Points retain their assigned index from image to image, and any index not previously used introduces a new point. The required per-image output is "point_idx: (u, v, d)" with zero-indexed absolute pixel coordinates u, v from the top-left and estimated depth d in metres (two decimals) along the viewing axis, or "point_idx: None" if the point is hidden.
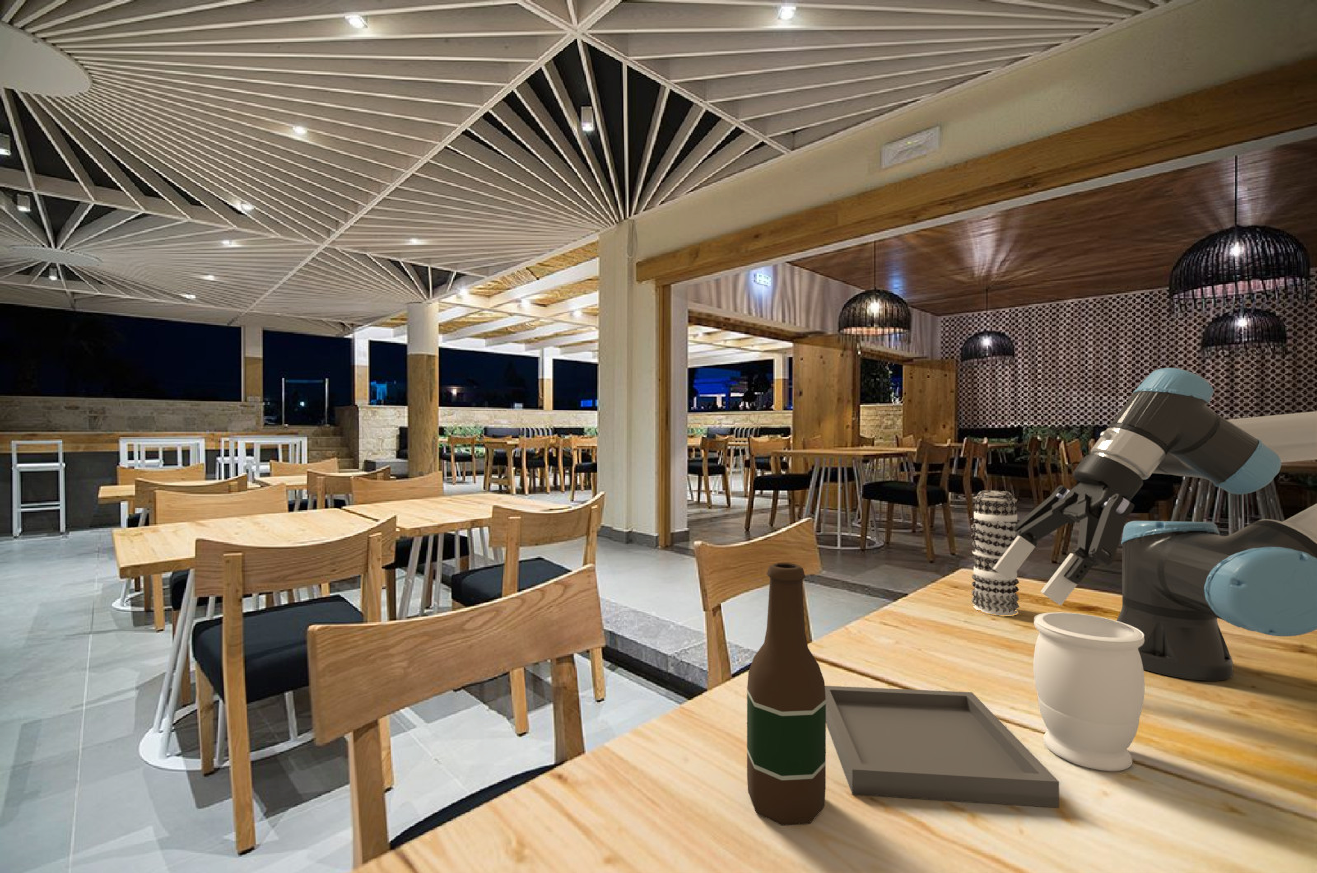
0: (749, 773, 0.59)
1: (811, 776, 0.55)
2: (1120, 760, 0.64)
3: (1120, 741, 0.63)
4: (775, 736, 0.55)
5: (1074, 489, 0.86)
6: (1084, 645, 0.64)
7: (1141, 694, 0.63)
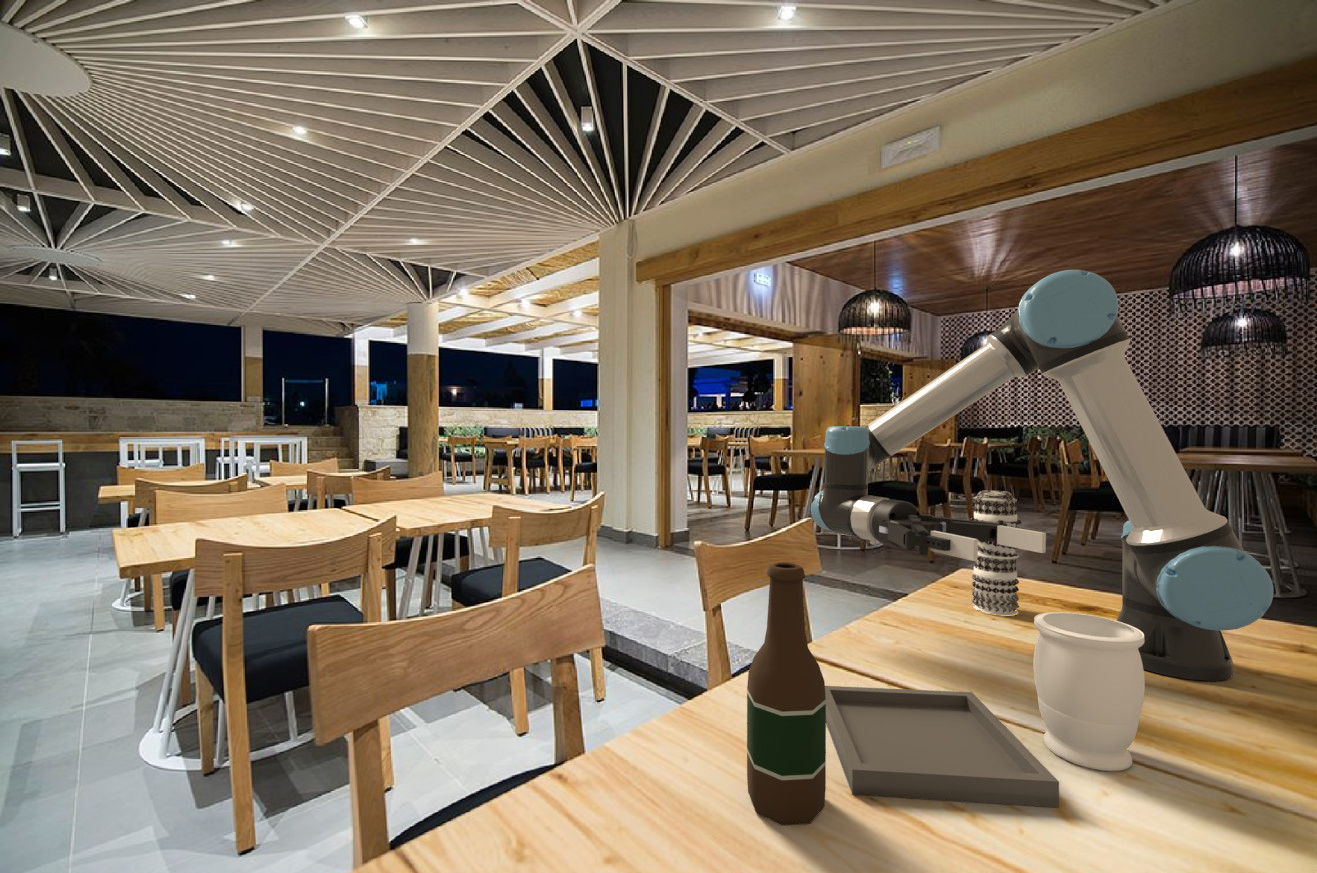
0: (749, 773, 0.59)
1: (811, 776, 0.55)
2: (1120, 760, 0.64)
3: (1120, 741, 0.63)
4: (775, 736, 0.55)
5: None
6: (1084, 645, 0.64)
7: (1141, 694, 0.63)
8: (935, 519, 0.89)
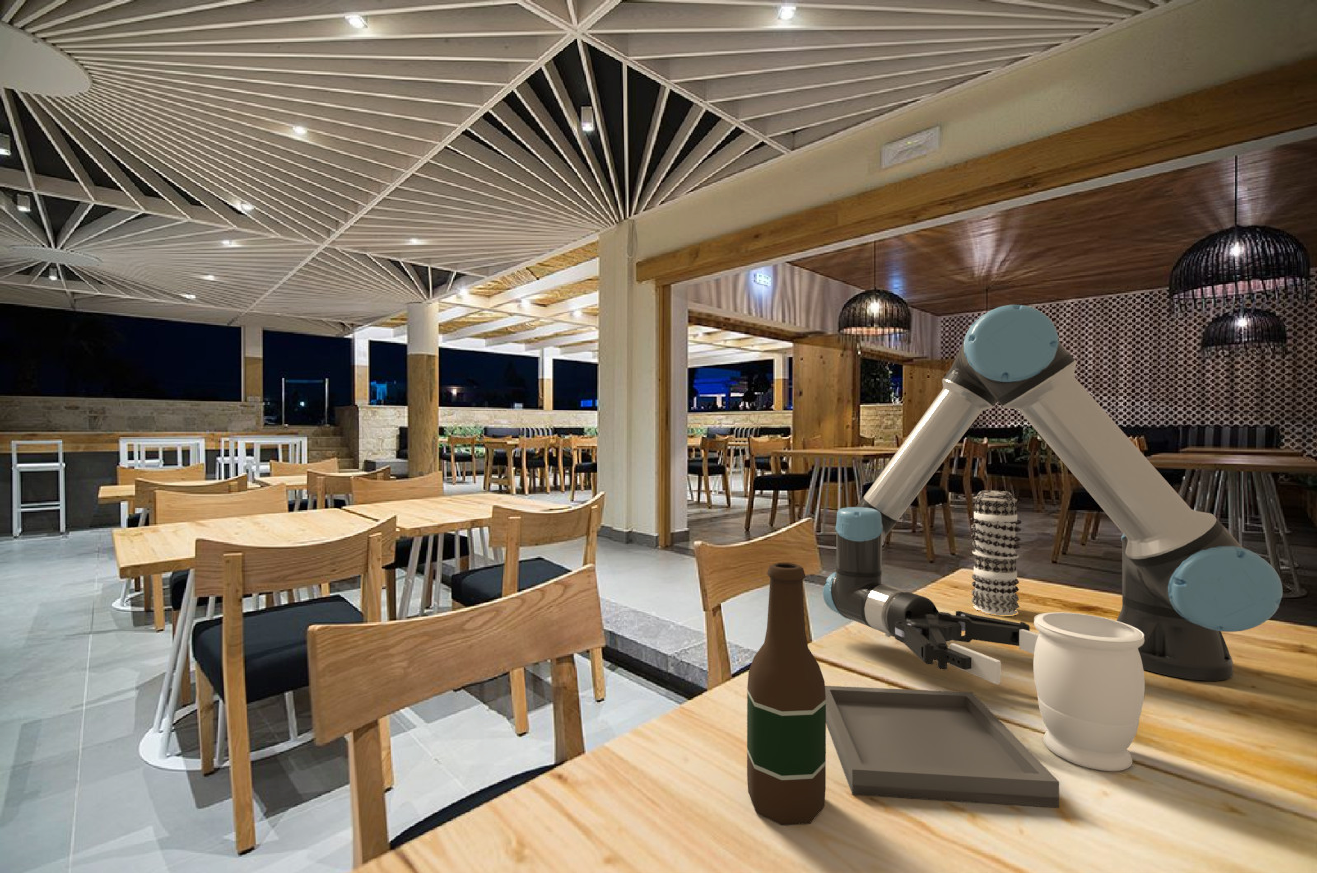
0: (749, 773, 0.59)
1: (811, 775, 0.55)
2: (1120, 760, 0.64)
3: (1120, 741, 0.63)
4: (775, 735, 0.55)
5: None
6: (1084, 645, 0.64)
7: (1141, 694, 0.63)
8: (953, 619, 0.86)
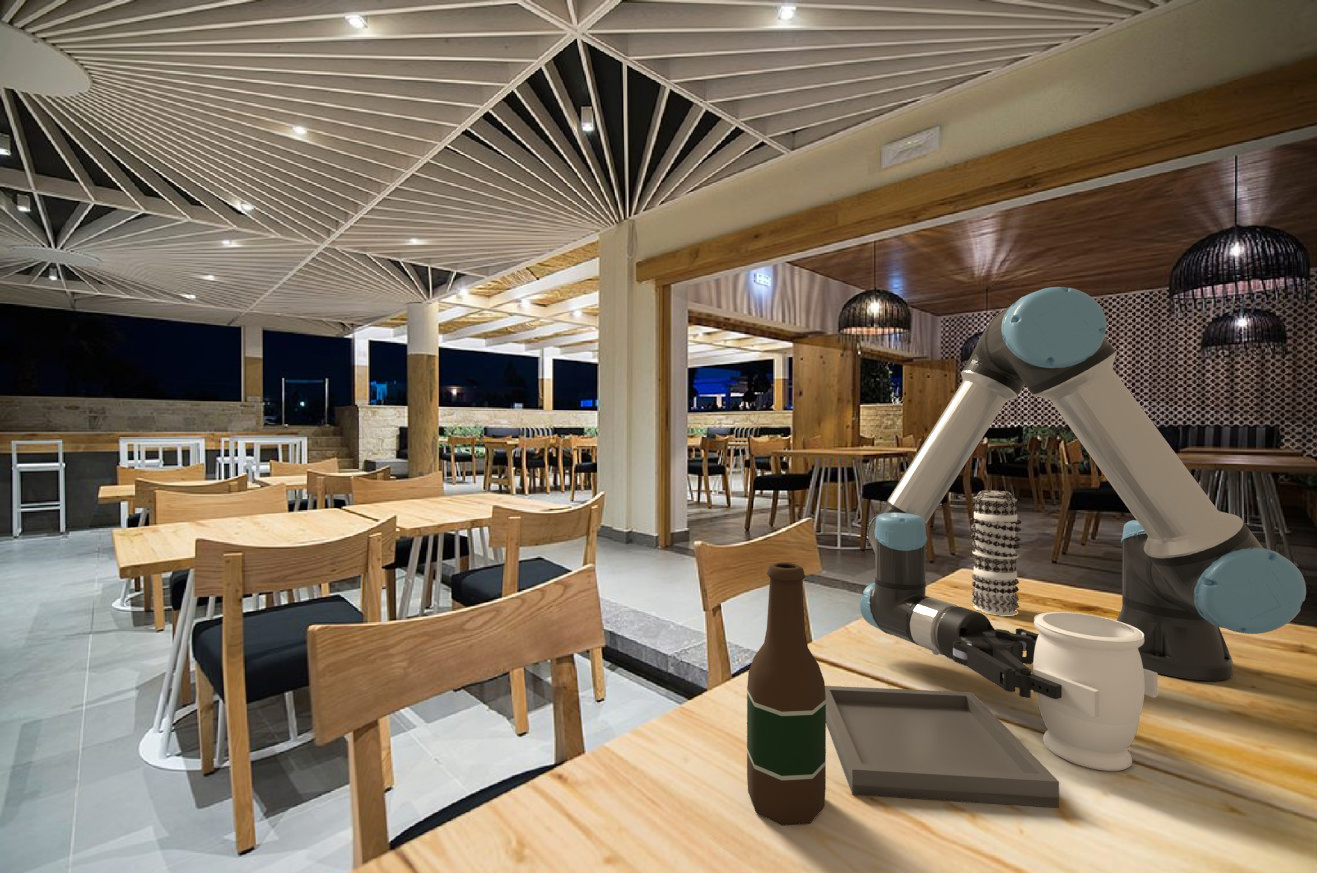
0: (749, 773, 0.59)
1: (811, 776, 0.55)
2: (1120, 760, 0.64)
3: (1120, 741, 0.63)
4: (774, 736, 0.55)
5: None
6: (1084, 645, 0.64)
7: (1141, 694, 0.63)
8: (1013, 637, 0.78)
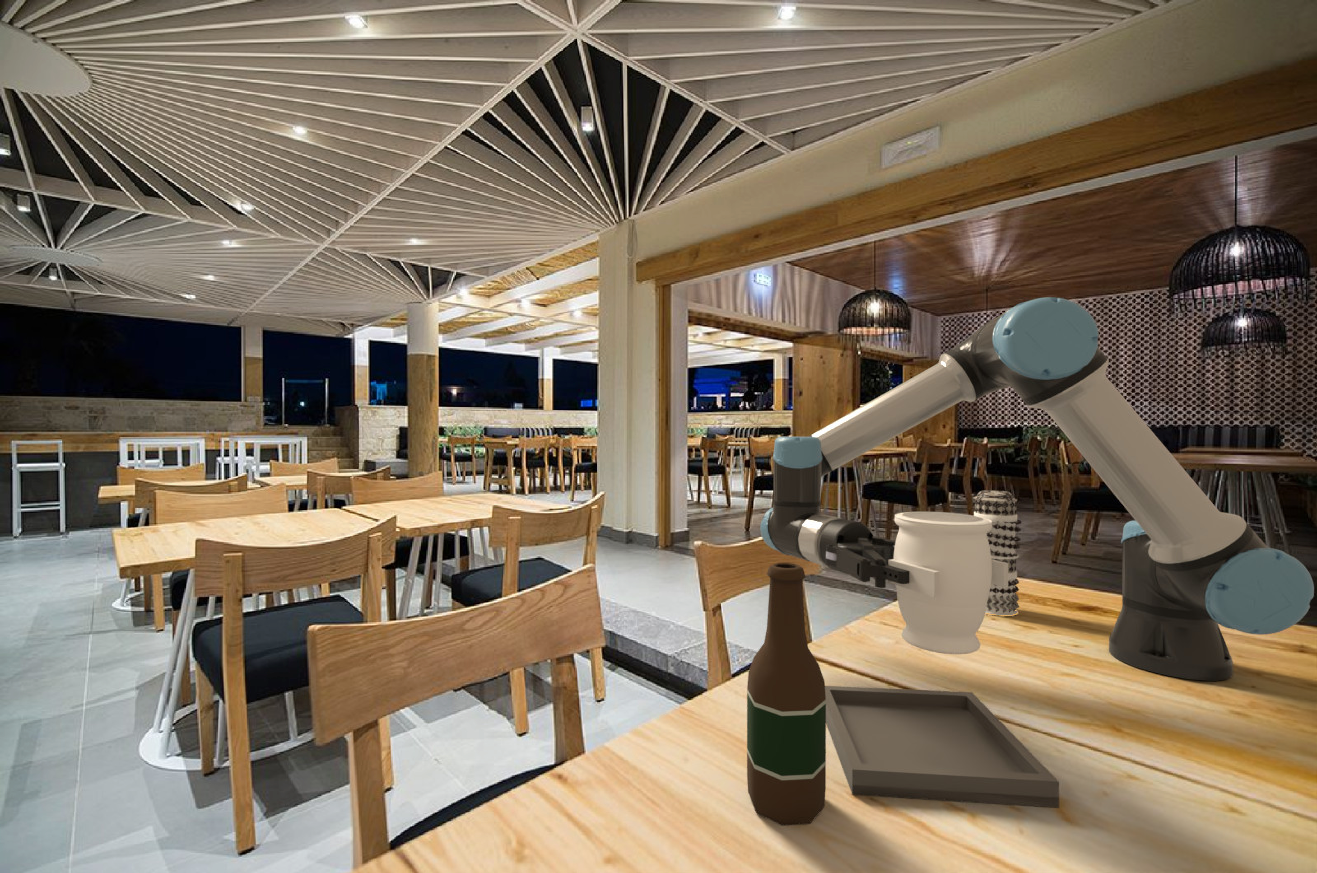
0: (749, 773, 0.59)
1: (811, 776, 0.55)
2: (965, 644, 0.65)
3: (963, 624, 0.65)
4: (775, 736, 0.55)
5: None
6: (929, 530, 0.65)
7: (985, 578, 0.65)
8: (887, 543, 0.79)
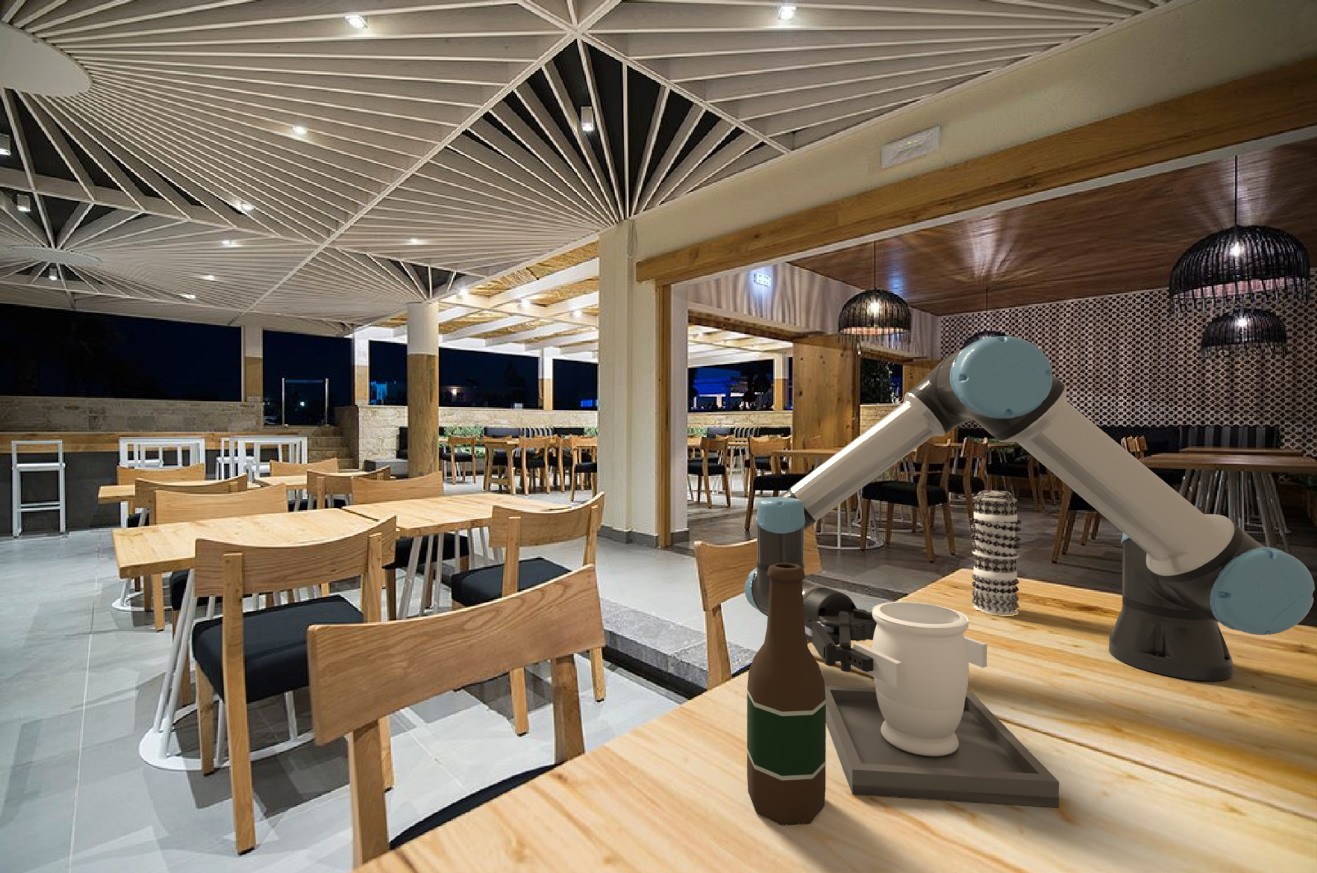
0: (749, 773, 0.59)
1: (811, 776, 0.55)
2: (943, 745, 0.65)
3: (940, 726, 0.64)
4: (775, 736, 0.55)
5: None
6: (905, 631, 0.65)
7: (961, 680, 0.64)
8: (869, 616, 0.79)
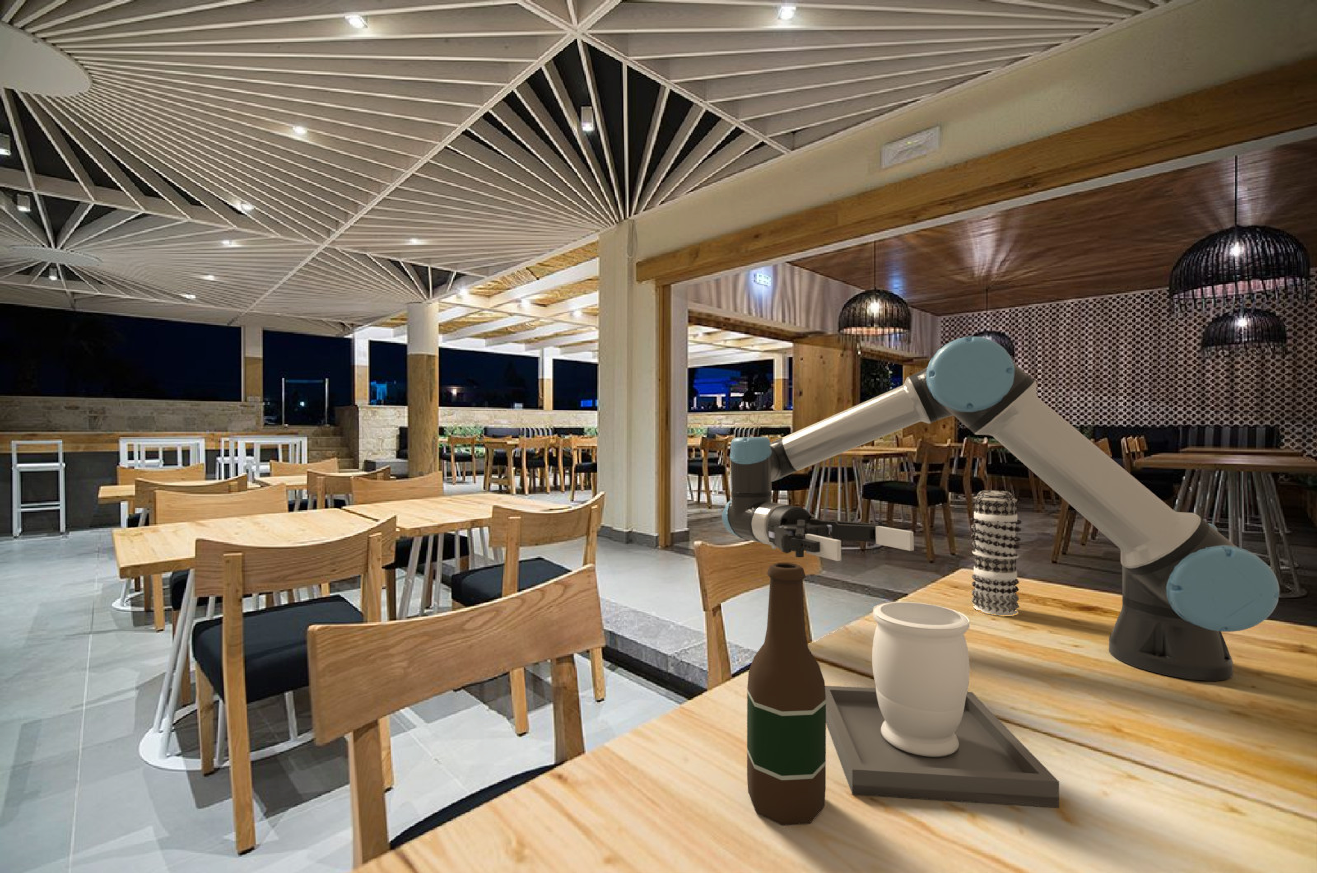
0: (749, 773, 0.59)
1: (811, 775, 0.55)
2: (943, 746, 0.65)
3: (941, 727, 0.64)
4: (775, 735, 0.55)
5: None
6: (906, 632, 0.65)
7: (962, 681, 0.64)
8: (822, 522, 0.94)
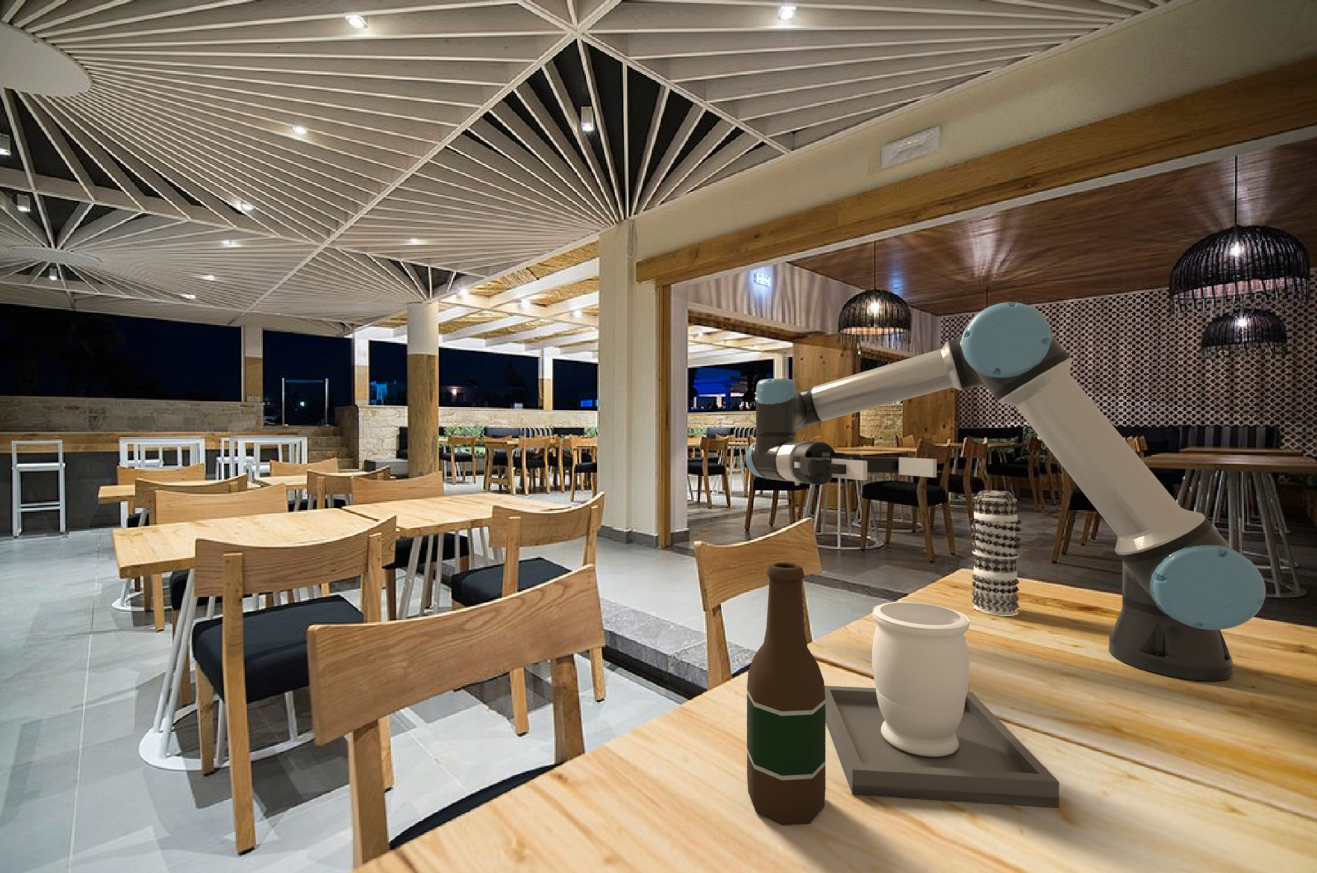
0: (749, 773, 0.59)
1: (811, 775, 0.55)
2: (943, 746, 0.65)
3: (940, 727, 0.64)
4: (774, 736, 0.55)
5: None
6: (906, 632, 0.65)
7: (961, 681, 0.64)
8: (846, 455, 0.97)
